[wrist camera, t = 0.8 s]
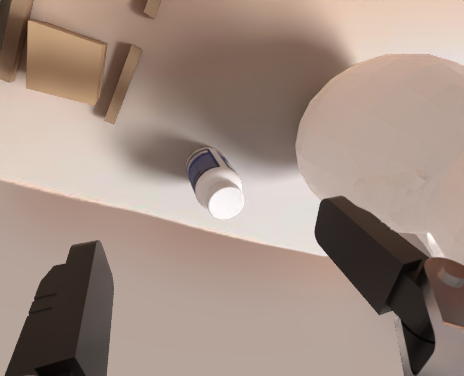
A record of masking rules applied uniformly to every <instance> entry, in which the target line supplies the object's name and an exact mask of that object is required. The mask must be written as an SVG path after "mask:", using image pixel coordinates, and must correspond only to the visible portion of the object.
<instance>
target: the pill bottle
mask: <svg viewBox="0 0 464 376" xmlns="http://www.w3.org/2000/svg"><path fill="white" fill-rule="evenodd" d="M186 172H187V175H188V177H189V180H190V182H191V185H192V187H193V190H194V193H195V195H196V198H197V200H198V202H199V203H200V204H201V205H202V206H203V207H204V208H206V209H208V210H209V212H210V214H211V215H212V216H214V217H215V218H218V219H228V218H231V217H233V216H235V215H236V214H237V213H239V211H240V210H241V209H242V207H243V205H244V195H243V193H242V191H241V190H242V184H241V180H240V178H239V176H238V175H237V173H236V172H235V170H234V169H233V168H232V166H231V165H230V164H229V162H228V161H227V160H226V158H225V157H224V156H223V155H222V153H221V152H219V151H218V150H216V149H214V148H210V147H204V148H200V149H198V150H196V151H194V152H193V153H192V154H191V155H190V156H189V158H188V160H187V163H186Z"/></svg>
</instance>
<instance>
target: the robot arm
mask: <svg viewBox="0 0 464 376" xmlns="http://www.w3.org/2000/svg"><path fill="white" fill-rule="evenodd" d="M315 237H316V240H317V242H318V244H319V245H320V247H321V248H322V249H323V250H324V251H325V252H326V254H327V255H328V256H329V257H330V258H331V259H332V260H333V262H334V263H335V264H336V265H337V266H338V268H339V269H340V270H341V271H342V272H343V273H344V275H345V276H346V277H347V278H348V279H349V280H350V282H351V283H352V284H353V285H354V286H355V287H356V289H357V290H358V291H359V292H360V293H361V294H362V296H363V297H364V298H365V299H366V300H367V301H368V303H369V304H370V305H371V306H372V307H373V308H374V309H375V311H376V312H377V313H378V314H379V315H381V314H384V313H387V312H389V311H394V313H395V314H396V315H397V316H396V318H395V328H396V333H397V339H398V344H399V350H400V356H401V362H402V367H403V372H404V376H464V265H462V264H460V263H458V262H456V261H453V260H450V259H447V258H442V257H432V258H429V257H427V256H426V255H425V254H424V253H422V252H421V251H420V250H418V249H417V248H416V247H414V246H413V245H412V244H411V243H409V242H408V241H407V240H405V239H404V238H403V237H401V236H400V235H399V234H398V233H397V232H395V231H394V230H391V229H390V227H389V226H387V225H386V224H385V223H384V222H383V223H382V222H381V220H380V219H378V218H377V217H376V216H375V215H373V214H372V213H371V212H369V211H367V210H365V209H362V208H360V207H358V206H356V205H355V204H353V203H352V202H351V201H350V200H348V199H347V198H346V197H344V196H336V197H330V198H325V199H323V200H322V201H321V203H320V206H319V211H318V216H317V221H316V225H315ZM113 295H114V285H113V277H112V273H111V270H110V267H109V264H108V261H107V258H106V255H105V252H104V249H103V247H102V244H101V242H100V241H99V240H96V241H91V242H86V243H80V244H75V245H72V246H71V248H70V251H69V254H68V257H67V261H66V264H61V265H56V266H53V268H52V269H51V270H50V271H49V272H48V273H47V275H46V276H45V277H44V278H43V279H42V280H41V282H40V284H39V287H38V289H37V292H36V295H35V297H34V302H33V303H32V305H31V308H30V310H29V316H27V318H26V321H25V324H24V326H23V329H22V331H21V334H20V337H19V339H18V342H17V344H16V347H15V350H14V352H13V355H12V358H11V360H10V363H9V365H8V368H7V371H6V373H5V376H106V375H107V365H108V353H109V341H110V329H111V318H112V306H113Z"/></svg>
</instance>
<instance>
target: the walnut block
mask: <svg viewBox="0 0 464 376" xmlns="http://www.w3.org/2000/svg"><path fill="white" fill-rule="evenodd" d="M106 51H107V43H104V42H101V41H98V40H95V39H92V38H89V37H87V36H84V35H81V34H78V33H75V32H72V31H69V30H67V29H64V28H61V27H58V26H55V25H52V24H49V23H47V22H40V21H33V20H28V38H27V75H26V88H28V89H31V90H35V91H39V92H43V93H47V94H51V95H55V96H59V97H63V98H67V99H71V100H75V101H79V102H83V103H87V104H90V105H94V106H95V104H96V102H97V101H98V99H99V97H100V95H101V87H102V80H103V73H104V65H105V58H106Z"/></svg>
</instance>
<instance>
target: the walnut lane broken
mask: <svg viewBox="0 0 464 376" xmlns="http://www.w3.org/2000/svg"><path fill="white" fill-rule="evenodd" d="M160 2H161V0H148V1H147V4H146V7H145V10H144V12H143V13H144V14H146V15H148V16H149V17H151V18H152V19H154V18H155V15H156V13H157V10H158V8H159V5H160ZM32 5H33V0H12V1H11V6H10V11H9V15H8V20H7V24H6V29H5V34H4V38H3V43H2V48H1V52H0V79H1V80H4V81H6V82H9V83H10V82H13V81H14V80H15V76H16V72H17V67H18V63H19V59H20V55H21V51H22V46H23V42H24V38H25V34H26V30H27V25H28V20H29V17H30V13H31V9H32ZM141 52H142V49H140V48H138V47H136V46H134V45H133V44H132V45H131V48H130V51H129V53H128V56H127V59H126V62H125V64H124V67H123V70H122V73H121V75H120V78H119V81H118V84H117V86H116V89H115V92H114V94H113V97H112V100H111V103H110V105H109V108H108V111H107V114H106V116H105V119H104V121H106V122H109V123H111V124H114V123H115V121H116V118H117V115H118V113H119V110H120V108H121V105H122V102H123V100H124V97H125V94H126V92H127V89H128V86H129V84H130V81H131V79H132V76H133V73H134V71H135V68H136V65H137V63H138V60H139V58H140V55H141Z"/></svg>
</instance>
